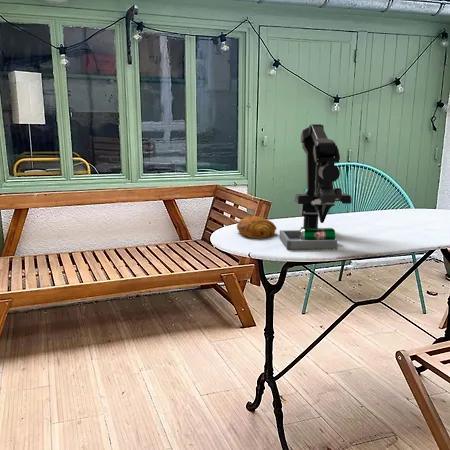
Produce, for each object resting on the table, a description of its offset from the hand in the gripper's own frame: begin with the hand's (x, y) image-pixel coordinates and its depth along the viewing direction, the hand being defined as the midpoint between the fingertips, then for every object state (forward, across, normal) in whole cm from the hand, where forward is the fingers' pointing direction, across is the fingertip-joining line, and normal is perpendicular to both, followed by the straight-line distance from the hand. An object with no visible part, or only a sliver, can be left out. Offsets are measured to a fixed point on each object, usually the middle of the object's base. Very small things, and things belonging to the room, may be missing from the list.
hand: (321, 222), depth 162 cm
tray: (+8, -5, 0) cm, 9 cm away
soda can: (+5, +5, 0) cm, 7 cm away
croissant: (+8, -21, +15) cm, 27 cm away
